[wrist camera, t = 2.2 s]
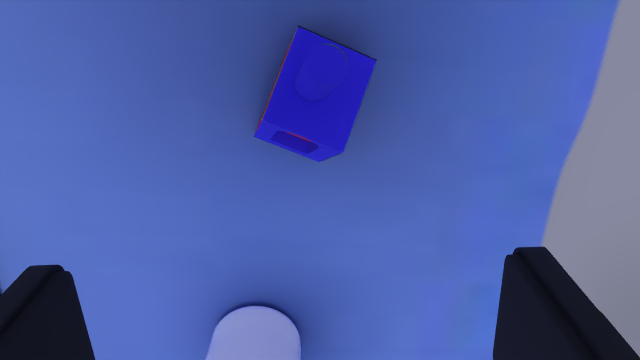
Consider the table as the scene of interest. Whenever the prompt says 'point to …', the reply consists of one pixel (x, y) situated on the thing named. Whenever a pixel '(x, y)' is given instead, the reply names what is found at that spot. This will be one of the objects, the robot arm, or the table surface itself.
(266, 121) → the toy building block
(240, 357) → the drinking glass
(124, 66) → the table surface
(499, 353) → the robot arm
